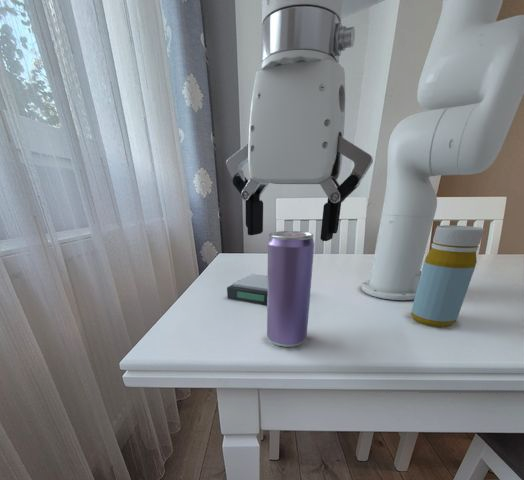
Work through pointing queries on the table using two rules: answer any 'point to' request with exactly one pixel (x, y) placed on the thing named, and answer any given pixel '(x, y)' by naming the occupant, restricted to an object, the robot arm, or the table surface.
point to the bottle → (446, 275)
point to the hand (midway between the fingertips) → (289, 236)
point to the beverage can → (289, 286)
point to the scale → (249, 289)
